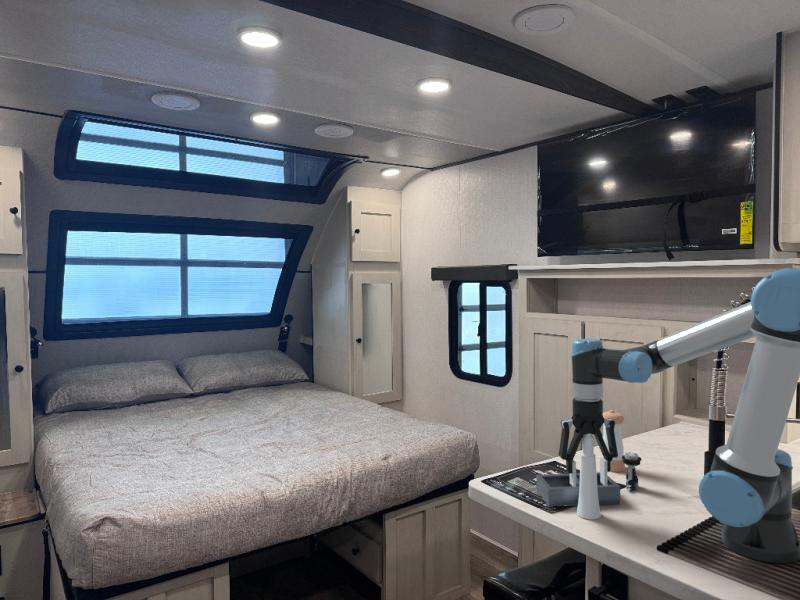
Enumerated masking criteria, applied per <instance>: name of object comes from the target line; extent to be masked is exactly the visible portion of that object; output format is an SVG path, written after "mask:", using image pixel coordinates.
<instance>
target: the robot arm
mask: <svg viewBox="0 0 800 600" xmlns="http://www.w3.org/2000/svg"><path fill="white" fill-rule="evenodd" d="M750 296H751V297H750V301H748V302H747V303H744V304H742V305H740V306H737V307H733V308H732V309H729V310H727V311H724V312H722V313H720V314H717V315H714V316H712V317H709V318H707V319H705V320H703V321H700V322H698V323H696V324H693V325H691V326H688V327H685V328H683V329H681V330H678V331H676V332H674V333H671V334H669V335H666V336H664V337H662V338H659V339H657V340H654V341H652V342H648V343H647V344H644V345H641V346H637V347H632V348H627V349H611V348H604V347H603V342H602V341H601V340H600V339H596V338H580V339H579V338H578V339H575V340H573V342H572V346H571V347H572V348H571V363H572V364H571V367H572V368H571V370H572V378H571V380H572V381H571V384H572V387H571V388H572V397H573V399H572V416H571V418H570V419H568V420H564V419H562V420H561V421H560V425H561V434H560V442H559V449H558V457H560V459H561V460H563V461H565V470H566V472H567V474H570V484H571V485H572V486H573V487H576V473H577V462H576V460H575V459H574V458H575V457H576V454H577V451H578V448H579V447H580V443H581V442H582V438H583V436H584V435H587V434H592V435H593V437H594V438H595V440H596V442H597V445H598V448H599V449H600V452H601V456H602V455H603V457H604V458H601V457H600V458H599V461H600V462H599V468H600V470H599V471H600V482H601V483H602V484H603V485H604V486H607V476H608V473H611V471H610V470H611V461H612V460H613V459H612V458H614V457H615V458H617V457H618V452H617V446H616V440H615V433H614V426H615V421H613V420H612V419H610V418H608V419H604V417H603V413H604V401H603V400H602V398H603V397H604V392H603V390H604V388H603V384H604V383H603V379H608V380H615V381H621V382H628V383H632V384H633V383H636V384H637V383H639V384H643V383H646V382H647V381H648V380H649V379H650V378H651V376H652V375H653V374H654V375H655V374H659V373H662V372H663V371H665V370H667V369H669V368H670V369H671V368H672V367H675V366H678V365H681V364H683V363H686V362H689V361H691V360H694V359H697V358H700V357H703V356H706V355H708V354H711V353H714V352H716V351H719V350H722V349H724V348H728V347H730V346H733V345H736V344H740V343H741V342H745V341H747V340H751V339H753V338H755V342H754V345H753V349H752V353H751V356H750V360H749V364H748V367H747V370H746V374H745V376H744V381H743V385H742V388H741V391H740V395H739V398H738V399H739V400H738V402H737V405H736V410H735V413H734V416H733V420H732V423H731V427H730V430H729V434H728V437H727V441H726V444H724V445H721V446H718V447H717V448H716V449H715V453H714V457H713V459H712V463H711V467H710V470H709V471H708V472H707V473H705V475H704V476H702V479H700V481H699V485H698V494H699V495H698V496H699V499H700V501H701V503H702V504H703V505H704V508H705V510H706V511H707V512H708V513H709V514H710V515H711V516H712V517H713V518H715V519H716V520H718V521H719V522H720V523H723V524H724V525H723V526H722V529H721V541H722V542H723V544H724V545H725V546H726V548H728V549H730V550H731V551H733V552H734V553H737V554H739V555H741V556H744V557H747V558H749V559H752V560H755V561H759V562H760V561H761V562H766V563H773V564H789V563H795V562H797V561H798V560H800V539H799V536H798V533H797V530H796V527H795V525H794V522H793V519H792V518H793V516H792V512H793V511H792V510H793V509H792V508H793V507H792V505H793V504H792V503H793V502H792V501H793V500H792V499H793V498H792V497H793V496H792V495H793V494H792V492H793V490H792V489H793V488H792V485H793V484H792V482H793V468H794V467H793V463H792V457H791V455H790V454H789V453H788V452H787V451H784V450H782V449H779V445H780V442H781V439H782V435H783V432H784V428H785V426H786V422H787V418H788V416H789V413H790V410H791V406H792V403H793V399H794V397H795V394H796V389H797V387H798V385H799V384H798V383H799V380H800V267H788V268H787V267H786V268H781V269H779V270H778V269H777V270H776V271H774V272H771V273H769V274H767V275H766V276H764V277H763V278H762V279H761V280H759V281H758V283H757V284H756V285H755V287H754V289H753V290H752V293H751V295H750ZM603 423H604V425H605V427H606V434H607V440H608V446H609V451H608V449H607V446H606V444H605V442H604V439H603V433H602V431H601V428H602V427H603ZM572 425H573V426H574V427H575V428H574V430H573V436H572V438H571V441H570V444H569V439H570V434H571V433H570V430H571V429H572Z"/></svg>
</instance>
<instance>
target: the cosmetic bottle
mask: <svg viewBox="0 0 800 600" xmlns="http://www.w3.org/2000/svg"><path fill="white" fill-rule="evenodd" d="M581 442H582V443H581V444H582V447H581V448H582V453H581V454H580V460H579V461H580V465H579V467H580V469H579V473H580V488H579V501H578V506H577V509H576V514H577V516H578V517H579V518H582V519H584V520H591V521H594V520H598V519H600V518H601V517H602V516H601V515H602V514H601V509H600V505H599V501H598V490H597V473H596V472H597V462H596V454H595V452H594V449H595V447H594V435H593V434H587V435H584V436H583V438H582V439H581Z"/></svg>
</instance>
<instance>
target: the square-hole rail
mask: <svg viewBox="0 0 800 600" xmlns="http://www.w3.org/2000/svg"><path fill="white" fill-rule="evenodd" d="M596 473H597V490H598V501H599V506H614V505H615V506H616V505H621V485H619V484H618V483H617V482H616V481H615V480H613V479H612V478H611V477H610V476H609V475H607V486H604V485H603V484H602V483H601V482H600V472H598V471H596ZM535 478H536V493H537V492H538V493H539V494H538V493H537V494H538V496H541V497H542V498H541V497H540V498H541V499H542V500H544V501H545V502H546V503H545V502H544V501H543V502H544V503H545V505H546V504H547V505H548V506H547V505H546V506H547V507H548V508H554V507H553V506H562V505H570V506H572V507H578V501H579V488H580V472H576V487H573V486H572V485H571V484H570V474H569V473H553V474H552V473H550V474H536V477H535Z"/></svg>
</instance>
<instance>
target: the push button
mask: <svg viewBox="0 0 800 600" xmlns="http://www.w3.org/2000/svg"><path fill="white" fill-rule="evenodd" d="M622 459H623V463H624V464H625V465H626V466H627V472H626V474H625V479H626V481H625V487H626V491H634V490H635V489H636V490H637V489H638V488H639V477H638V475H637V472H636V467H637V466H640V465H641V462H642V458H641V457H640V456H639V454H638V453H635V452H625V453H624V454H623V456H622Z"/></svg>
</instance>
